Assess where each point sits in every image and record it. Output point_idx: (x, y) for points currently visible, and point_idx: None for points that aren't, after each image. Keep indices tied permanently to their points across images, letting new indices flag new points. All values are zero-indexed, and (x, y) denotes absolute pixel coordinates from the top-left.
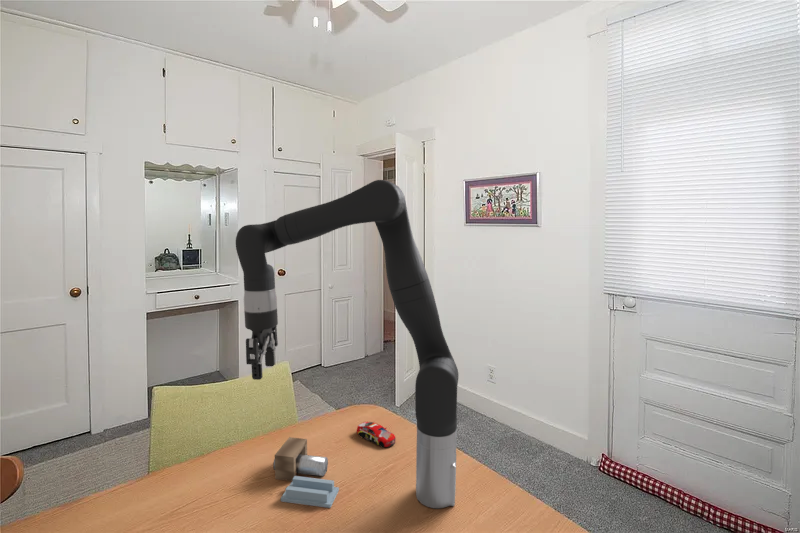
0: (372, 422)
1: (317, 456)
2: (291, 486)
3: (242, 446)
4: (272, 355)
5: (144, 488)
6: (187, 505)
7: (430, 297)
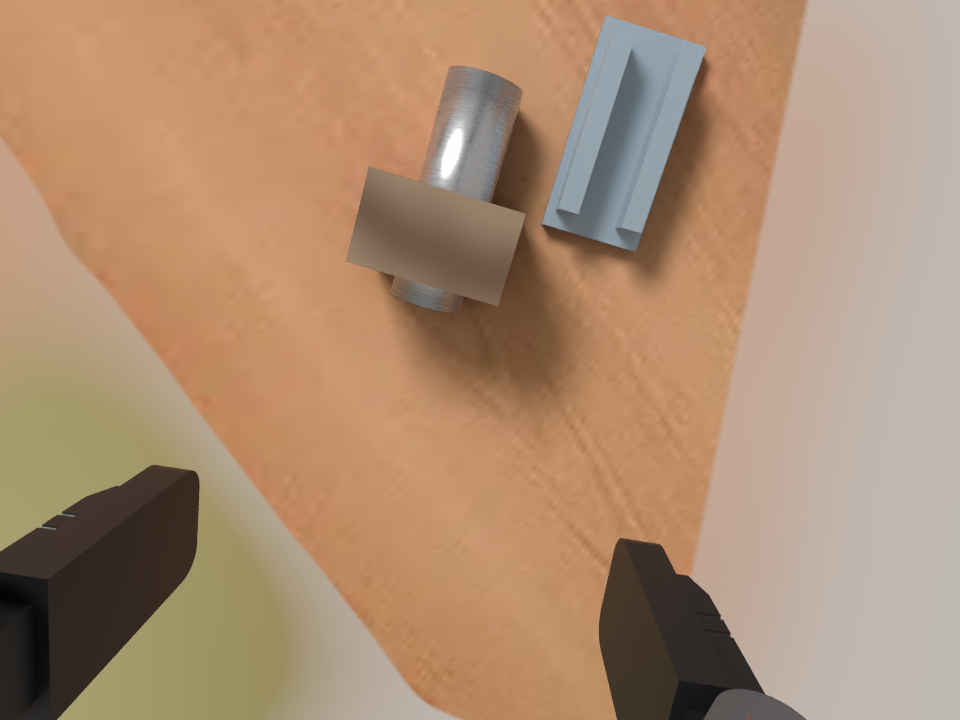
0: None
1: (459, 111)
2: (627, 211)
3: (268, 468)
4: (94, 560)
5: (500, 704)
6: (603, 553)
7: None
